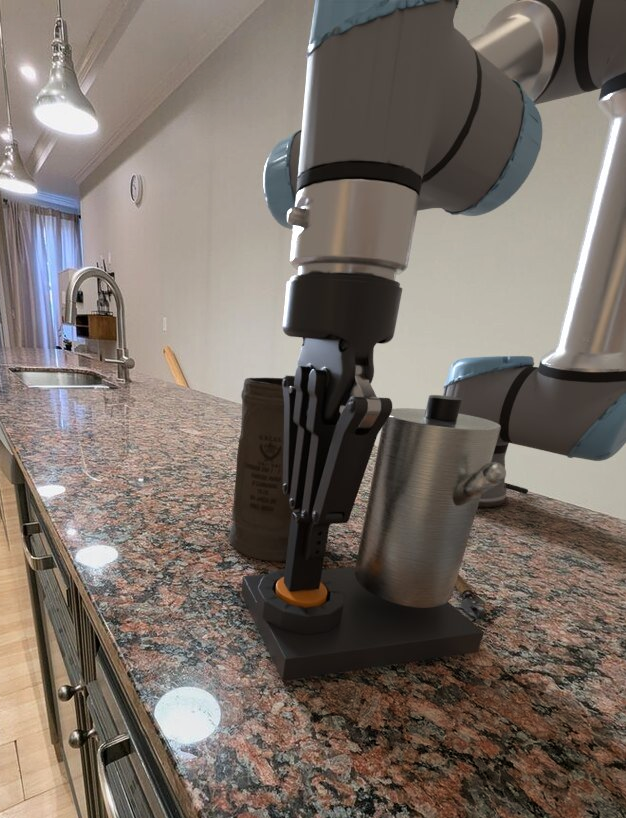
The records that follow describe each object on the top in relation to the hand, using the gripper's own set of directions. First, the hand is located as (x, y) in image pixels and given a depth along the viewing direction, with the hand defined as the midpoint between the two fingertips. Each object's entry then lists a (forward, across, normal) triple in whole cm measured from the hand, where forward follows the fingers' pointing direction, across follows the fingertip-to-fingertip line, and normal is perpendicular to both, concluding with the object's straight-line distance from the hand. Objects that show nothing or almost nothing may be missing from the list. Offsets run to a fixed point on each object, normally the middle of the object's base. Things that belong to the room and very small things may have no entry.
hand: (301, 585), depth 38 cm
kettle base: (+5, 0, +6) cm, 7 cm away
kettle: (+1, 0, +10) cm, 10 cm away
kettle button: (+2, 0, 0) cm, 2 cm away
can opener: (+5, -2, +20) cm, 20 cm away
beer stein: (+5, -19, +5) cm, 20 cm away
